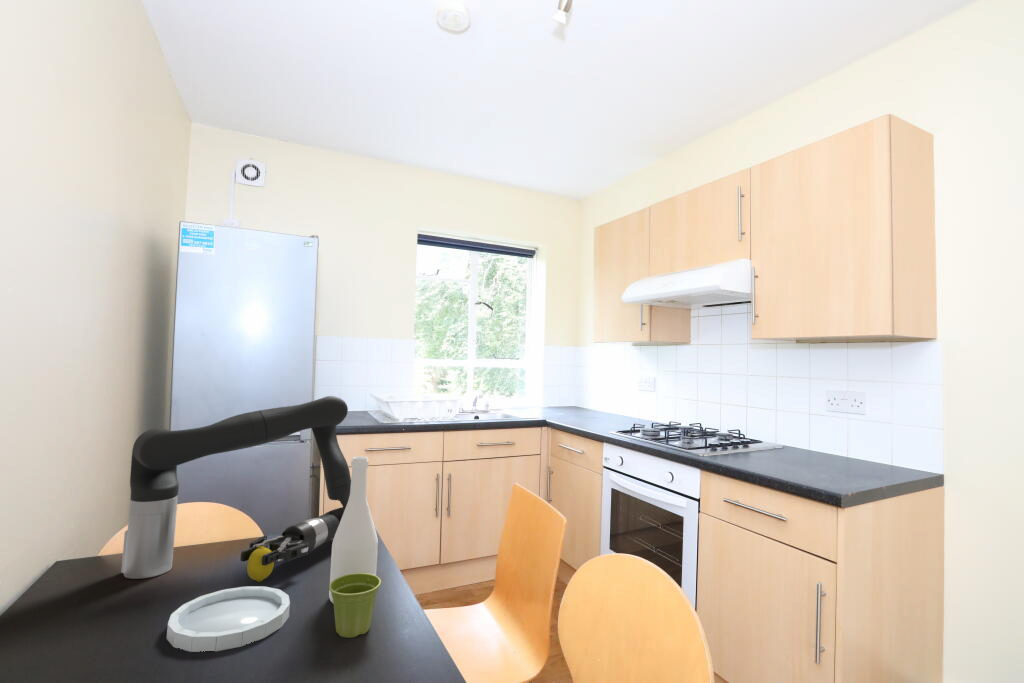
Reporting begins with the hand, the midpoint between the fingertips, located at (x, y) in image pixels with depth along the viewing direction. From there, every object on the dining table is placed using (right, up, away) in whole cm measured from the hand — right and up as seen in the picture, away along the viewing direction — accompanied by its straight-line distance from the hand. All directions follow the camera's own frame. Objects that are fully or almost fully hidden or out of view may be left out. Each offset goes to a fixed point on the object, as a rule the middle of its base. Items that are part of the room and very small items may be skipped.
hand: (252, 558), depth 109 cm
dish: (+4, -5, -16) cm, 17 cm away
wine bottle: (+24, -7, -4) cm, 25 cm away
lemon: (+1, -6, +2) cm, 7 cm away
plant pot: (+28, -6, -17) cm, 33 cm away
